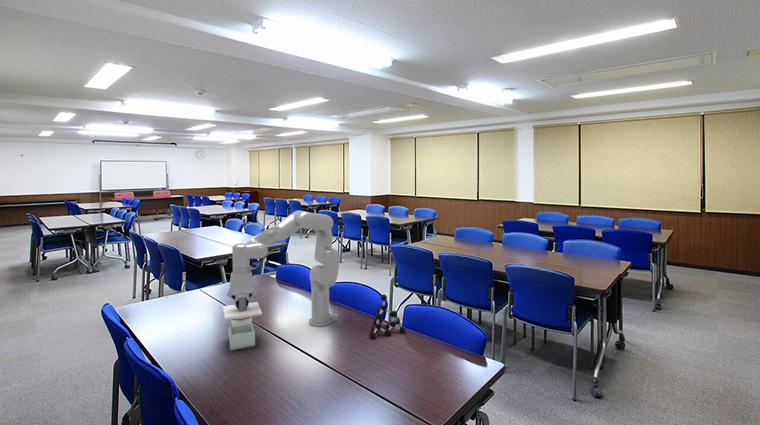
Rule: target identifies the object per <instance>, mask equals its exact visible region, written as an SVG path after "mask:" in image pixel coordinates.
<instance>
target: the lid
mask: <svg viewBox="0 0 760 425" xmlns="http://www.w3.org/2000/svg"><path fill="white" fill-rule="evenodd" d="M245 298H246V296H240V297H238V300H239V309H237V307H236V304H231V305H223V306H222V309H223V316H224V320H225V321H226V320H228V321H229V320H231V319H235V318H243V317H250V316H252V317H256V316H262V315H263V312H262V309H261V308H260V304H259V302H257V301H256V302H248V303H249V306H247V308H246V299H245Z"/></svg>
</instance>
